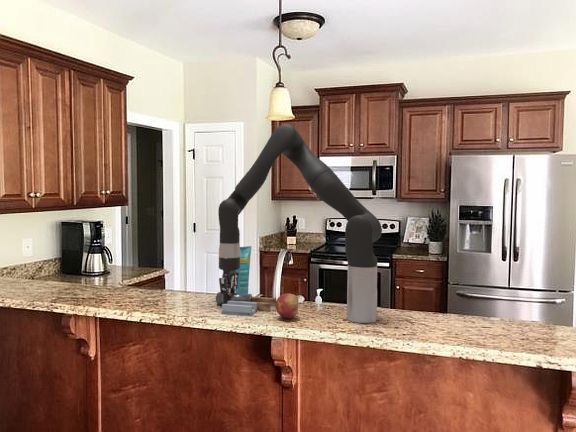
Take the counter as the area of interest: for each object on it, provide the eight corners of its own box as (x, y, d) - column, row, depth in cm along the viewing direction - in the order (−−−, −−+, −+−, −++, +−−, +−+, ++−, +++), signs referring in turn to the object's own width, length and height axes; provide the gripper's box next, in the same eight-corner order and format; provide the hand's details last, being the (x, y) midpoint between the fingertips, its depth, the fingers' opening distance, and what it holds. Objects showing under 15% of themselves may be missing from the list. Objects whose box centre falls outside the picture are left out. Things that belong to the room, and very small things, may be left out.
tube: (236, 297, 179) (236, 247, 178) (230, 295, 183) (230, 246, 182) (253, 295, 183) (253, 246, 183) (247, 293, 187) (247, 245, 187)
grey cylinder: (252, 305, 167) (252, 293, 167) (248, 308, 162) (248, 295, 162) (220, 303, 170) (220, 291, 169) (215, 305, 165) (216, 293, 165)
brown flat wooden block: (276, 305, 167) (276, 298, 167) (269, 311, 158) (269, 303, 158) (244, 303, 170) (244, 296, 170) (235, 308, 161) (235, 301, 161)
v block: (256, 311, 158) (257, 302, 158) (251, 316, 152) (251, 306, 152) (228, 309, 160) (228, 300, 160) (221, 313, 154) (221, 304, 154)
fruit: (291, 323, 144) (291, 297, 144) (270, 319, 148) (270, 294, 148) (303, 317, 151) (304, 292, 150) (283, 314, 155) (283, 290, 154)
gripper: (226, 252, 174) (226, 298, 174) (211, 257, 160) (211, 307, 160) (246, 253, 172) (245, 300, 172) (232, 258, 158) (232, 309, 159)
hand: (229, 303), depth 166 cm, fingers closed on grey cylinder, 4 cm apart
